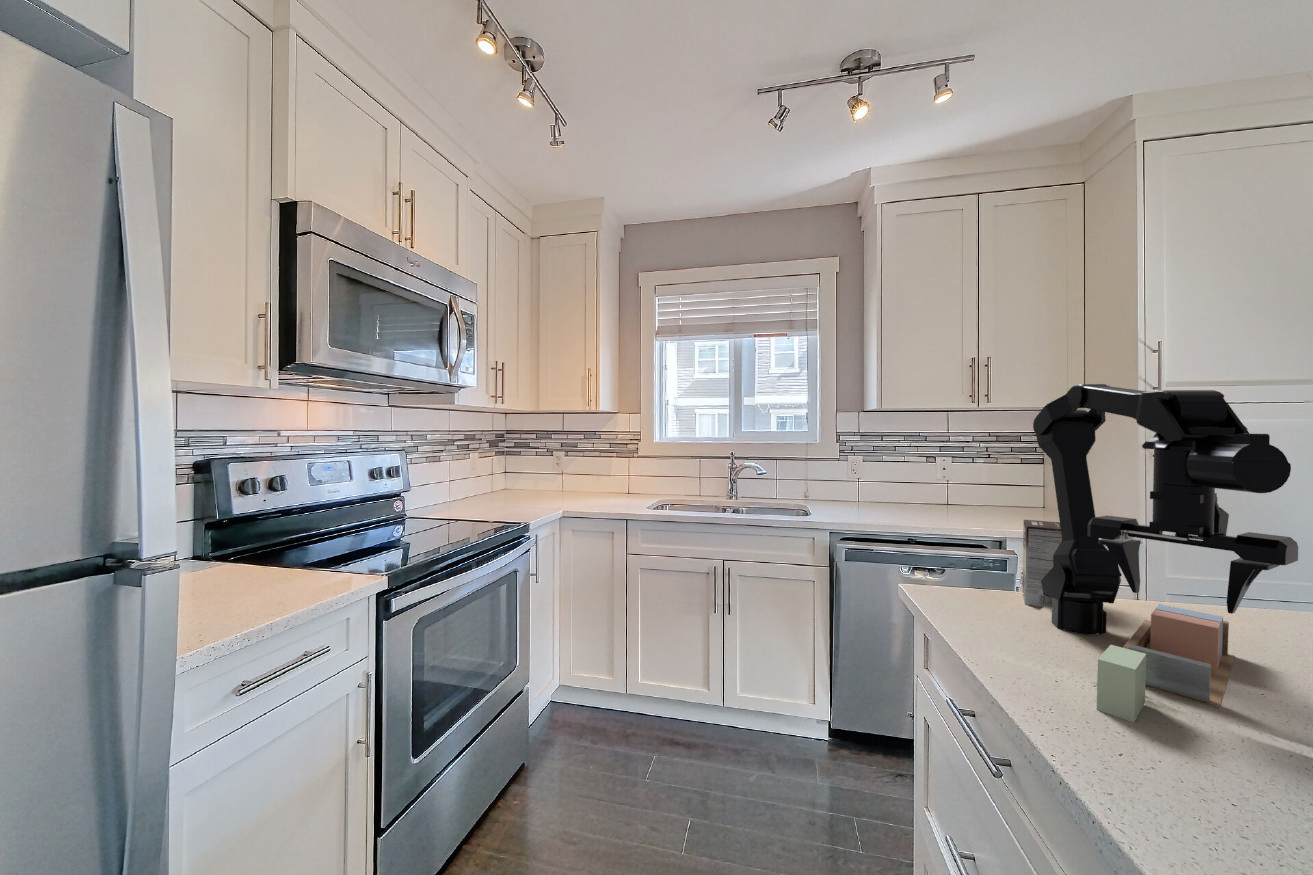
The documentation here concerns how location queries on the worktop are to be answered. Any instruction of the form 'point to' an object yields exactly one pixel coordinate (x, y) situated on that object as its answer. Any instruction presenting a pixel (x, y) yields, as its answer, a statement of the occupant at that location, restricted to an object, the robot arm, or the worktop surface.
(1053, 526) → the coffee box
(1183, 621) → the book brick
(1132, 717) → the green book
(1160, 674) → the bookend
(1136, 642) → the wooden book rack
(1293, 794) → the worktop surface
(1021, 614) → the worktop surface
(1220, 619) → the book blue
